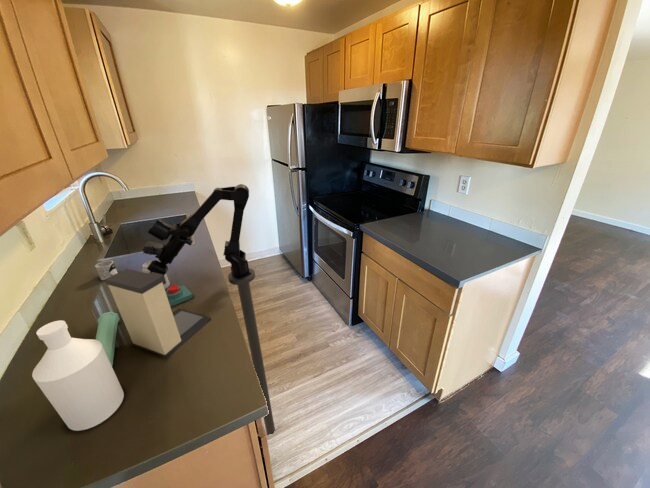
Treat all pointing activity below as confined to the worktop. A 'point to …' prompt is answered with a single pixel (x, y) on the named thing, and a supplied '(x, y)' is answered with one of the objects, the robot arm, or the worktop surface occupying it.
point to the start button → (173, 289)
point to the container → (108, 333)
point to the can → (149, 272)
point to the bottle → (77, 378)
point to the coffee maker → (152, 312)
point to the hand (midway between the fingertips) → (151, 275)
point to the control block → (179, 296)
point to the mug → (106, 269)
